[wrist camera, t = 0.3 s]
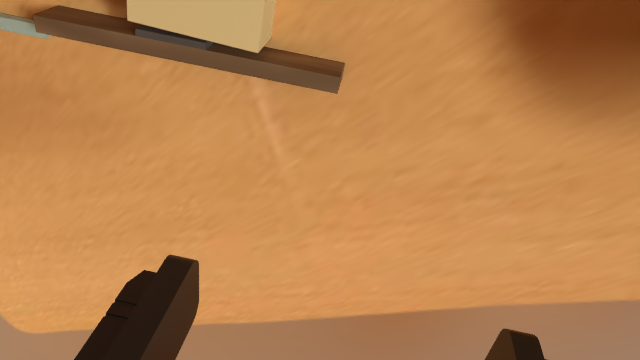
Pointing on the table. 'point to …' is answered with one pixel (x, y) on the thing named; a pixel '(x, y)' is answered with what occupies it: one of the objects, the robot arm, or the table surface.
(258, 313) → the table surface
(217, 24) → the block
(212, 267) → the table surface
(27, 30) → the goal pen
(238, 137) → the table surface
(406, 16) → the table surface
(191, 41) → the chute
